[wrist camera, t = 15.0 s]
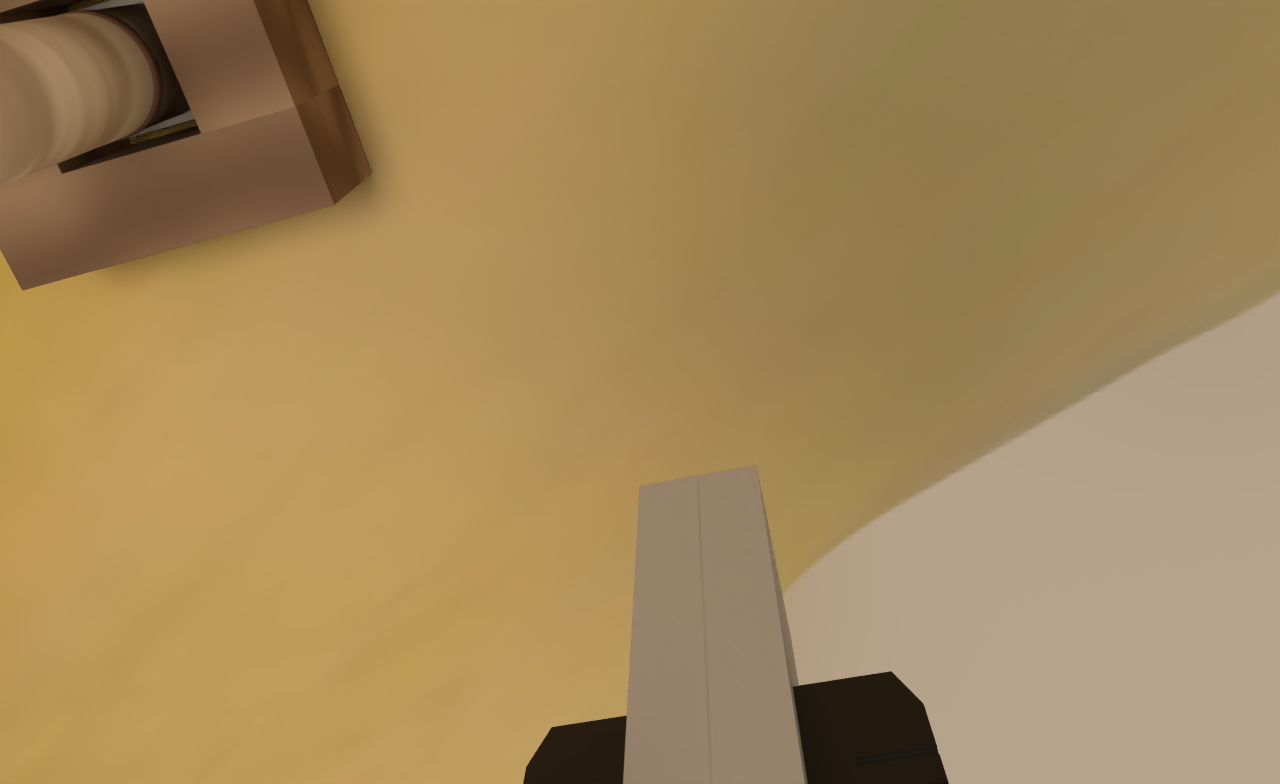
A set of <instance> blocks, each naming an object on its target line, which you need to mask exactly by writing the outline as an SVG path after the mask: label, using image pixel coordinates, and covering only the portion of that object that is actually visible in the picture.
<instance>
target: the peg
mask: <svg viewBox="0 0 1280 784" xmlns="http://www.w3.org/2000/svg"><path fill="white" fill-rule="evenodd" d="M189 110H190V107H189V104H188V102H187V100H186V97H185V95H184V93H183V91H182V88H181V86H180V84H179V81H178V79H177V77H176V75H175V72H174V70H173V68H172V65H171V63H170V61H169V59H168V56H167V54H166V52H165V49H164V47H163V45H162V43H161V40H160V38H159V36H158V33H157V31H156V29H155V27H154V24H153V22H152V20H151V17H150V15H149V13H148V11H147V8H146V6H145V4H144V3H138V4H130V5H123V6H117V7H110V8H104V9H97V10H80V11H73V12H67V13H63V14H60V15H57V16H51V17H45V18H38V19H31V20H25V21H18V22H12V23H5V24H0V186H2V185H4V184H7V183H10V182H12V181H15V180H17V179H20V178H22V177H25V176H27V175H30V174H32V173H35V172H37V171H40V170H42V169H45V168H47V167H50V166H52V165H55V164H58V163H60V162H63V161H65V160H68V159H70V158H73V157H75V156H78V155H80V154H83V153H85V152H88V151H90V150H93V149H95V148H98V147H100V146H103V145H106V144H108V143H111V142H114V141H119V140H122V139H125V138H128V137H130V136H133V135H135V134H137V133H139V132H141V131H142V130H144V129H146V128H148V127H151V126H154V125H156V124H159V123H161V122H164V121H166V120H169V119H171V118H174V117H176V116H179V115H181V114H184V113H186V112H187V111H189Z"/></svg>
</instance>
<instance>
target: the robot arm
mask: <svg viewBox="0 0 1280 784" xmlns="http://www.w3.org/2000/svg"><path fill="white" fill-rule="evenodd" d="M523 784H948V779H947V777H946V773H945V770H944V767H943V764H942V761H941V757H940V754H938V750H937V745H936V742H935V739H934V735H933V732H932V729H931V726H930V723H929V720H928V717H927V714H926V710H925V707H924V704H923V703H922V702H921V701H920V700H919V699H918V698H917V697H916V696H915V695H914V694H913V693H912V692H911V691H910V690H909V689H908V688H907V687H906V686H905V685H904V684H903V683H902V682H901V681H900V680H899V679H898V678H897V677H896V676H895V675H894V674H893V673H892V672H891V671H890V672H884V673H878V674H871V675H865V676H858V677H852V678H845V679H839V680H833V681H827V682H820V683H813V684H807V685H800V686H799V684H798V678H797V672H796V667H795V660H794V654H793V648H792V642H791V637H790V631H789V626H788V621H787V616H786V611H785V607H784V601H783V596H782V591H781V586H780V581H779V576H778V571H777V566H776V561H775V556H774V551H773V546H772V541H771V536H770V531H769V526H768V521H767V516H766V511H765V506H764V501H763V496H762V492H761V487H760V482H759V477H758V472H757V467H756V465H754V466H748V467H743V468H737V469H731V470H726V471H720V472H715V473H709V474H704V475H698V476H693V477H687V478H682V479H676V480H671V481H665V482H659V483H654V484H648V485H643V486H640V492H639V510H638V527H637V545H636V563H635V580H634V598H633V616H632V634H631V651H630V669H629V687H628V704H627V716H621V717H615V718H608V719H602V720H595V721H589V722H583V723H576V724H570V725H563V726H557V727H552V728H551V729H550V731H549V732H548V734H547V736H546V737H545V739H544V740H543V742H542V743H541V745H540V746H539V748H538V750H537V751H536V753H535V754H534V756H533V757H532V759H531V760H530V762H529V764H528V765H527V767H526V771H525V777H524V783H523Z"/></svg>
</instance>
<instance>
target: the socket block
mask: <svg viewBox="0 0 1280 784" xmlns="http://www.w3.org/2000/svg"><path fill="white" fill-rule="evenodd" d="M80 1H83V0H0V24H5V23H12V22H18V21H25V20H31V19H38V18H45V17H51V16H57V15H60V14H63V13H67V12H68V10H67V8H66V6H67V5H70V4H73V3H77V2H80ZM143 1H144V4H145V6H146V8H147V11H148V13H149V15H150V17H151V20H152V22H153V24H154V27H155V29H156V31H157V33H158V36H159V38H160V40H161V43H162V45H163V47H164V49H165V52H166V54H167V56H168V59H169V61H170V63H171V65H172V68H173V70H174V72H175V75H176V77H177V79H178V81H179V84H180V86H181V88H182V91H183V93H184V95H185V97H186V100H187V102H188V104H189V107H190V109H191V111H192V114H193V116H194V118H195V120H196V123H197V125H198V126H195V127H191V128H188V129H184V130H181V131H178V132H174V133H171V134H167V135H164V136H160V137H157V138H153V139H150V140H147V141H143V142H140V143H136V144H133V145H130V143H129V141H128V139H122V140H119V141H114V142H111V143H108V144H106V145H103V146H100V147H98V148H95V149H93V150H90V151H88V152H85V153H83V154H80V155H78V156H75V157H73V158H70V159H68V160H65V161H63V162H60V163H58V164H55V165H52V166H50V167H47V168H45V169H42V170H40V171H37V172H35V173H32V174H30V175H27V176H25V177H22V178H20V179H17V180H15V181H12V182H10V183H7V184H4V185H2V186H0V250H1V251H2V253H3V255H4V257H5V259H6V261H7V263H8V264H9V266H10V268H11V270H12V272H13V274H14V276H15V277H16V279H17V281H18V283H19V285H20V287H21V289H22V290H26V289H30V288H33V287H37V286H40V285H44V284H48V283H51V282H55V281H59V280H62V279H66V278H70V277H73V276H77V275H81V274H84V273H88V272H91V271H95V270H99V269H102V268H106V267H110V266H113V265H117V264H121V263H124V262H128V261H132V260H135V259H139V258H142V257H146V256H150V255H153V254H157V253H161V252H164V251H168V250H172V249H175V248H179V247H183V246H186V245H190V244H193V243H197V242H201V241H204V240H208V239H212V238H215V237H219V236H223V235H226V234H230V233H233V232H237V231H241V230H244V229H248V228H252V227H255V226H259V225H263V224H266V223H270V222H274V221H277V220H281V219H284V218H288V217H292V216H295V215H299V214H303V213H306V212H310V211H314V210H317V209H321V208H325V207H328V206H332V205H335V204H336V203H337V202H338V201H339V200H341V199H342V198H343V197H344V196H345V195H346V194H348V193H349V192H350V191H351V190H352V189H353V188H355V187H356V186H357V185H358V184H359V183H360V182H362V181H363V180H364V179H365V178H366V177H367V176H369V175H370V174H371V173H372V172H371V169H370V166H369V164H368V161H367V158H366V156H365V153H364V150H363V148H362V145H361V142H360V140H359V137H358V135H357V132H356V129H355V127H354V124H353V121H352V119H351V116H350V113H349V111H348V108H347V105H346V103H345V100H344V97H343V95H342V92H341V90H340V87H339V84H338V82H337V79H336V76H335V74H334V71H333V68H332V66H331V63H330V60H329V58H328V55H327V52H326V50H325V47H324V44H323V42H322V39H321V37H320V34H319V31H318V29H317V26H316V23H315V21H314V18H313V15H312V13H311V10H310V7H309V5H308V2H307V0H143Z"/></svg>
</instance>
